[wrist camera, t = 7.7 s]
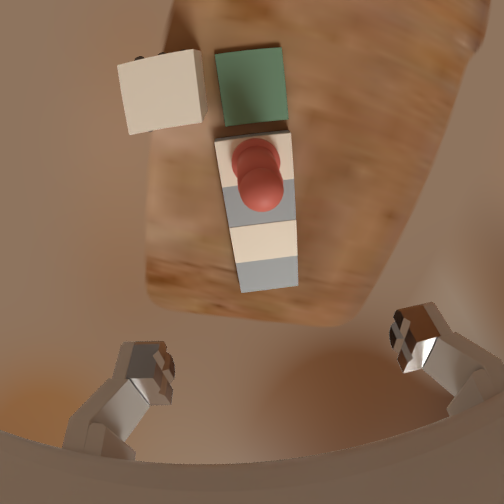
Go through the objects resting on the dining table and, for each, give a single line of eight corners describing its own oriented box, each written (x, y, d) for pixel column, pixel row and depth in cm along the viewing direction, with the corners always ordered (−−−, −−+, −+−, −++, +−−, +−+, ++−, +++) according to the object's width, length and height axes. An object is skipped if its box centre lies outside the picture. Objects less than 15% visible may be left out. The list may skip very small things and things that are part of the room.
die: (200, 47, 19) (134, 60, 19) (192, 44, 15) (112, 62, 15) (208, 113, 23) (144, 123, 23) (202, 126, 19) (126, 139, 19)
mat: (215, 54, 20) (214, 54, 19) (280, 47, 20) (281, 47, 19) (225, 125, 23) (225, 126, 23) (287, 118, 23) (288, 119, 23)
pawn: (228, 141, 23) (226, 174, 17) (277, 135, 23) (293, 166, 17) (235, 184, 25) (236, 230, 19) (280, 179, 25) (296, 223, 19)
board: (215, 138, 24) (214, 142, 23) (288, 130, 24) (290, 133, 23) (241, 286, 33) (241, 293, 32) (296, 279, 33) (298, 285, 32)
